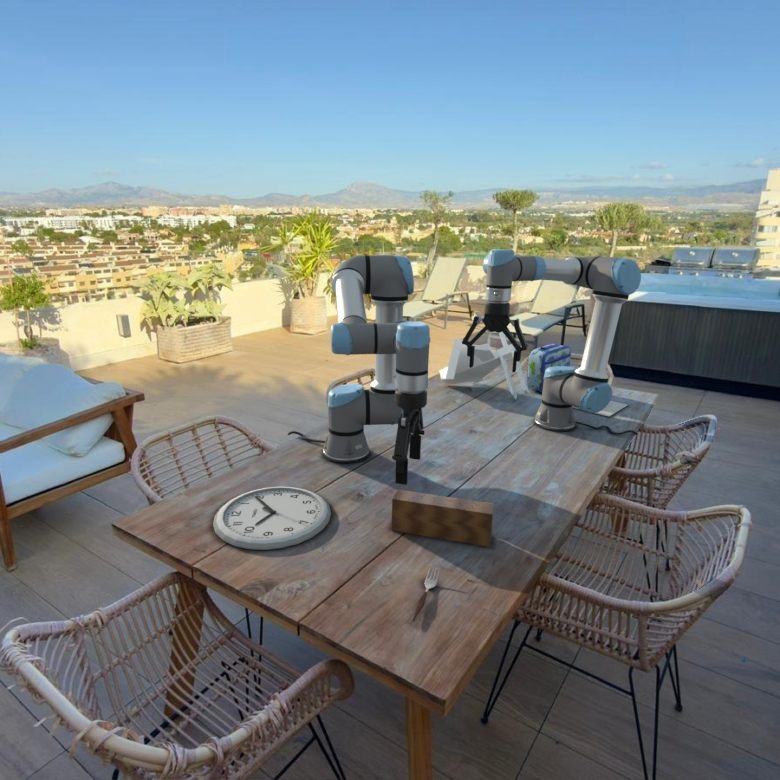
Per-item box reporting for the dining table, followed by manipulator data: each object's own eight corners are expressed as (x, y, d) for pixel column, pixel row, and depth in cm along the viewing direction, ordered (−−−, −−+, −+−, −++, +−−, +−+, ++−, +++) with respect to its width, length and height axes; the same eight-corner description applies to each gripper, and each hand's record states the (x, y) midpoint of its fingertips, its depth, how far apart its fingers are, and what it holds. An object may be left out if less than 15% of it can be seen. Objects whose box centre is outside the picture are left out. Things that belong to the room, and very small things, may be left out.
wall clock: (329, 541, 123) (198, 546, 121) (329, 547, 124) (199, 552, 121) (332, 482, 152) (226, 484, 149) (332, 487, 152) (226, 489, 150)
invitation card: (608, 416, 214) (573, 407, 224) (608, 416, 214) (573, 408, 224) (628, 404, 229) (594, 396, 238) (628, 405, 229) (594, 397, 238)
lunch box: (542, 396, 239) (547, 351, 232) (522, 391, 246) (526, 347, 240) (570, 385, 256) (575, 343, 250) (550, 380, 263) (554, 339, 257)
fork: (406, 621, 101) (406, 613, 100) (428, 573, 115) (429, 565, 115) (419, 625, 100) (419, 616, 99) (440, 576, 114) (440, 568, 114)
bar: (491, 535, 130) (494, 503, 127) (489, 547, 125) (492, 514, 123) (396, 519, 136) (397, 489, 134) (391, 530, 132) (392, 498, 129)
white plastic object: (461, 429, 252) (437, 405, 227) (444, 352, 274) (420, 323, 250) (535, 404, 240) (518, 377, 215) (510, 326, 262) (492, 293, 237)
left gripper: (408, 372, 134) (406, 447, 141) (380, 405, 112) (378, 492, 119) (437, 375, 132) (433, 451, 139) (414, 409, 110) (410, 497, 117)
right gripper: (454, 300, 161) (451, 367, 167) (538, 306, 152) (531, 376, 158) (460, 297, 167) (457, 361, 174) (541, 302, 159) (534, 370, 165)
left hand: (408, 470), depth 129 cm, fingers open, 13 cm apart
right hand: (492, 369), depth 166 cm, fingers open, 13 cm apart
